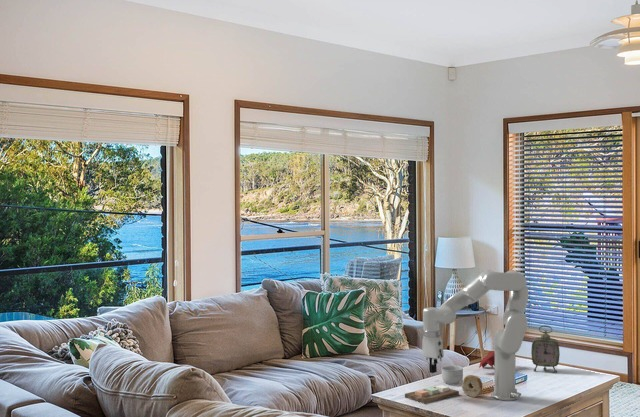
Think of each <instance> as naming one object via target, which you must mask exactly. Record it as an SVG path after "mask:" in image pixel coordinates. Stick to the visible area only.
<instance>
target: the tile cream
mask: <svg viewBox="0 0 640 417" xmlns="http://www.w3.org/2000/svg"><path fill="white" fill-rule="evenodd" d="M435 387H436V389H439V391H440V392H445V391H449V388H450V387H449V386H447V385H443V384H441V385H435Z"/></svg>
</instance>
